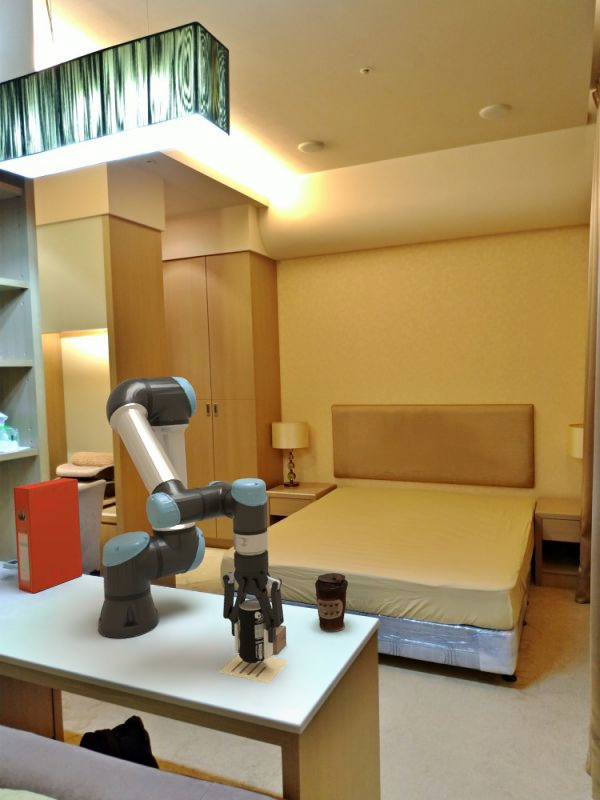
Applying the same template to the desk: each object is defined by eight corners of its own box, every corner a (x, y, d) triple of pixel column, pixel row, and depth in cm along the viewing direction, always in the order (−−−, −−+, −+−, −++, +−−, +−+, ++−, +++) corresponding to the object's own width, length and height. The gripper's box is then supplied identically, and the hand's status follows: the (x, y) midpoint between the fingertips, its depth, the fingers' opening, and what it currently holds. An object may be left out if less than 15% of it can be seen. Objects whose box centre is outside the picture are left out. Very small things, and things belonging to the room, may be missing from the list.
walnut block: (258, 652, 134) (257, 631, 133) (267, 643, 138) (267, 622, 138) (277, 656, 132) (276, 635, 131) (286, 646, 136) (285, 626, 136)
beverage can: (239, 651, 129) (237, 598, 129) (268, 649, 130) (267, 597, 129) (238, 665, 123) (237, 610, 122) (269, 663, 123) (267, 609, 123)
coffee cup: (346, 636, 141) (345, 584, 140) (313, 633, 142) (312, 582, 142) (350, 620, 149) (349, 571, 148) (319, 618, 151) (317, 570, 150)
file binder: (18, 589, 177) (13, 487, 176) (66, 572, 192) (62, 477, 190) (34, 594, 173) (29, 489, 171) (82, 576, 188) (78, 479, 186)
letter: (219, 673, 124) (219, 672, 124) (241, 652, 134) (241, 651, 133) (268, 684, 120) (268, 682, 119) (288, 661, 129) (288, 660, 129)
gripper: (203, 550, 126) (207, 653, 127) (283, 560, 118) (286, 669, 119) (221, 541, 133) (225, 638, 134) (298, 549, 125) (301, 652, 126)
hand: (254, 652), depth 126 cm, fingers closed on beverage can, 6 cm apart
